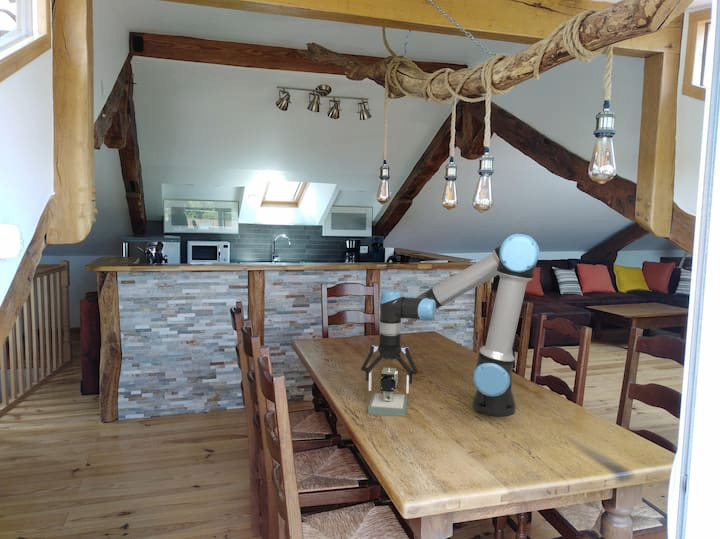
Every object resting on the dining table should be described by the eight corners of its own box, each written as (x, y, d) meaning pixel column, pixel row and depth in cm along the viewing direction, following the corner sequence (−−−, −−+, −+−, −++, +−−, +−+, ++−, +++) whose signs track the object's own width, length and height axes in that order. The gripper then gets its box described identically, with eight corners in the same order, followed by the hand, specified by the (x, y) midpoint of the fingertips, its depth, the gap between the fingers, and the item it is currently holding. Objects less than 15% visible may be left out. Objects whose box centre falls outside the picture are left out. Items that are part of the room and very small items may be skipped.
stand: (407, 401, 194) (407, 394, 194) (405, 416, 179) (405, 408, 179) (373, 399, 196) (373, 392, 195) (368, 414, 181) (368, 406, 181)
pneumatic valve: (379, 405, 182) (380, 372, 181) (384, 394, 193) (384, 362, 192) (395, 406, 181) (395, 373, 180) (398, 395, 192) (399, 363, 191)
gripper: (425, 332, 187) (423, 389, 189) (357, 329, 190) (356, 385, 192) (425, 337, 179) (423, 396, 181) (354, 334, 183) (353, 392, 185)
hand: (388, 391), depth 187 cm, fingers open, 13 cm apart
